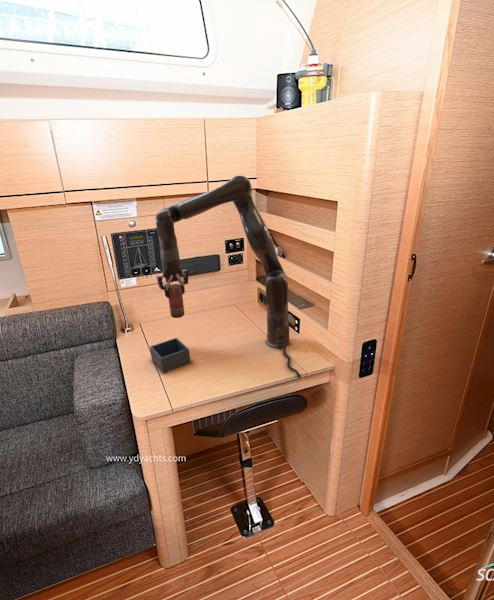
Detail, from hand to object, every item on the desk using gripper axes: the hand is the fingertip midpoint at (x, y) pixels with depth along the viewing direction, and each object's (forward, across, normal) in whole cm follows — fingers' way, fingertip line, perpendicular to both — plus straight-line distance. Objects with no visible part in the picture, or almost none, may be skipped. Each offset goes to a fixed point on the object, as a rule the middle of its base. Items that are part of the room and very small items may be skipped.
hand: (175, 295), depth 146 cm
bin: (+26, -9, -9) cm, 29 cm away
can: (+10, 0, 0) cm, 10 cm away
